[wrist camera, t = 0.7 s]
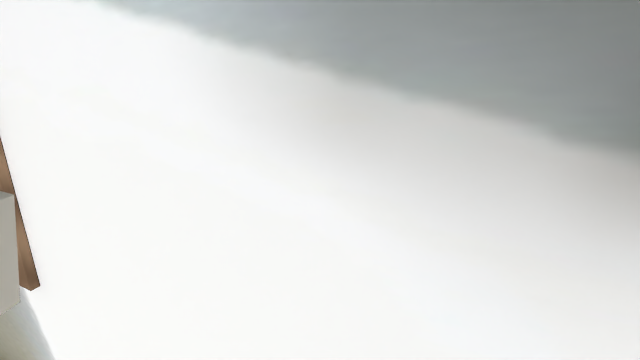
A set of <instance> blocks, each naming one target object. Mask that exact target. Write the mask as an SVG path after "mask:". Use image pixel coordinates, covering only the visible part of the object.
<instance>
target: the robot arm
mask: <svg viewBox="0 0 640 360" xmlns="http://www.w3.org/2000/svg"><path fill="white" fill-rule="evenodd" d="M19 303H20V288H19V270H18V253H17V236H16V218H15V201H14V195H13V194H10V193H6V192H2V191H0V316H1V315H2V314H4V313H5V312H7V311H8V310H10V309H11V308H13V307H14V306H16V305H17V304H19Z"/></svg>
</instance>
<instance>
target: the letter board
mask: <svg viewBox="0 0 640 360" xmlns="http://www.w3.org/2000/svg"><path fill="white" fill-rule="evenodd" d="M0 191H2V192H6V193H10V194H13V195H14V201H15V218H16V236H17V253H18V270H19V285H20V286H22V287H24V288H26V289H28V290H30V291H32V290H34V289H35V288H37V287H39V286H40V285H39V281H38V277H37V274H36V270H35V266H34V262H33V259H32V255H31V251H30V248H29V244H28V240H27V236H26V233H25V229H24V225H23V222H22V218H21V214H20V210H19V207H18V203H17V199H16V196H15V192H14V188H13V184H12V181H11V177H10V173H9V170H8V166H7V162H6V158H5V155H4V151H3V147H2V144H1V140H0Z"/></svg>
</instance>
